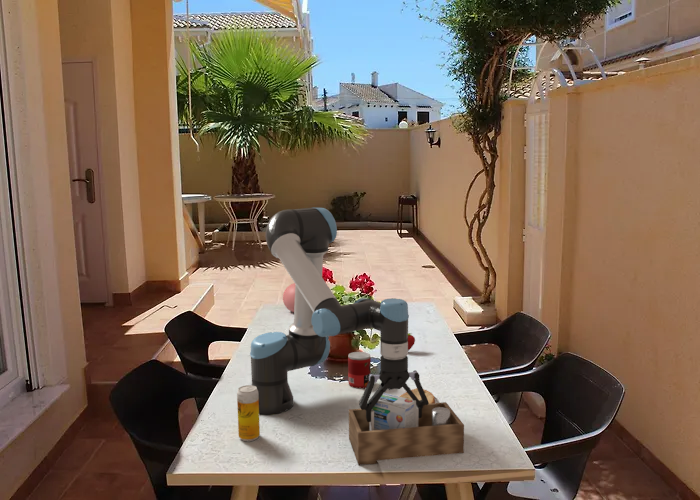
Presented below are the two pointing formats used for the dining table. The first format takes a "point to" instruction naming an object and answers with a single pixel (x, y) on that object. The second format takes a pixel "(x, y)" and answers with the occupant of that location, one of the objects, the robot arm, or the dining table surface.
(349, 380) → the canned food
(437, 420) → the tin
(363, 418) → the crate
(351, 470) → the dining table surface
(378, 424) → the light bulb box
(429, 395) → the slice of bread
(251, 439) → the beer can
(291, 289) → the pink rounded piece
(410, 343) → the strawberry
